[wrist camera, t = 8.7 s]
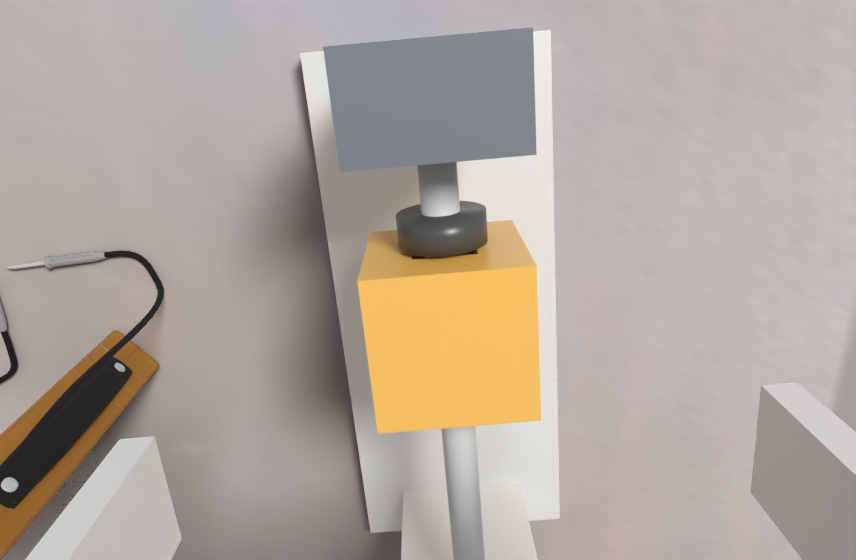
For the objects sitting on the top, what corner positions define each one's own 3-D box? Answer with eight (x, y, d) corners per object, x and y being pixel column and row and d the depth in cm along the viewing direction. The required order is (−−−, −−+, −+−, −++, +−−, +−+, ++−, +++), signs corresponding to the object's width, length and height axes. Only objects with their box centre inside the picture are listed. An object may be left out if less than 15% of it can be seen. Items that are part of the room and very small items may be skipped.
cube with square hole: (517, 347, 24) (541, 420, 19) (385, 358, 24) (377, 433, 19) (512, 219, 22) (536, 265, 18) (370, 232, 22) (357, 281, 18)
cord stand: (555, 503, 34) (620, 724, 23) (372, 517, 35) (349, 743, 23) (544, 30, 26) (638, 17, 15) (305, 52, 26) (218, 56, 15)
